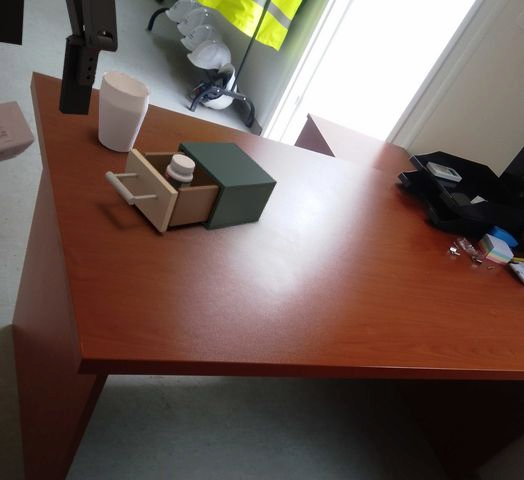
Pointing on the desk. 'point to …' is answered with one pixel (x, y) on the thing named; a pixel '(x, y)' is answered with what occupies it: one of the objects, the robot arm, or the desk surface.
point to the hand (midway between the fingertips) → (39, 76)
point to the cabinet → (232, 182)
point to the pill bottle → (180, 172)
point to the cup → (121, 110)
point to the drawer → (164, 190)
